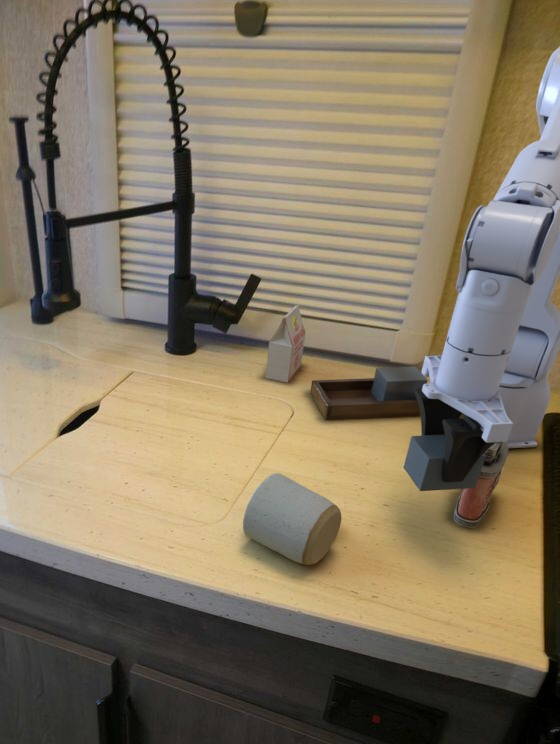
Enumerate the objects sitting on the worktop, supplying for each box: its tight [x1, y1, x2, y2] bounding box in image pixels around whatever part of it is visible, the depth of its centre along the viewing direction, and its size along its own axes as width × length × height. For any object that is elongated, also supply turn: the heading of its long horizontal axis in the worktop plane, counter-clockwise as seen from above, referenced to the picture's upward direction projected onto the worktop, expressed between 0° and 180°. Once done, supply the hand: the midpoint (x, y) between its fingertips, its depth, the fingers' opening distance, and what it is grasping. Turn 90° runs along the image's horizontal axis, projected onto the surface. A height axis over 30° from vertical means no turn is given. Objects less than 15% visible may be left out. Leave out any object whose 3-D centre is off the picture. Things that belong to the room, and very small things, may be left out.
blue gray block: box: [403, 434, 486, 492], centre depth 69 cm, size 6×4×4 cm
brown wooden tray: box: [309, 366, 429, 421], centre depth 97 cm, size 16×8×5 cm, turn 96°
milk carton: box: [265, 304, 307, 383], centre depth 104 cm, size 4×7×10 cm, turn 154°
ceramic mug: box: [242, 472, 342, 566], centre depth 70 cm, size 11×8×8 cm
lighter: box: [453, 442, 509, 528], centre depth 75 cm, size 8×3×10 cm, turn 148°
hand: (441, 466), depth 70 cm, fingers closed on blue gray block, 4 cm apart
